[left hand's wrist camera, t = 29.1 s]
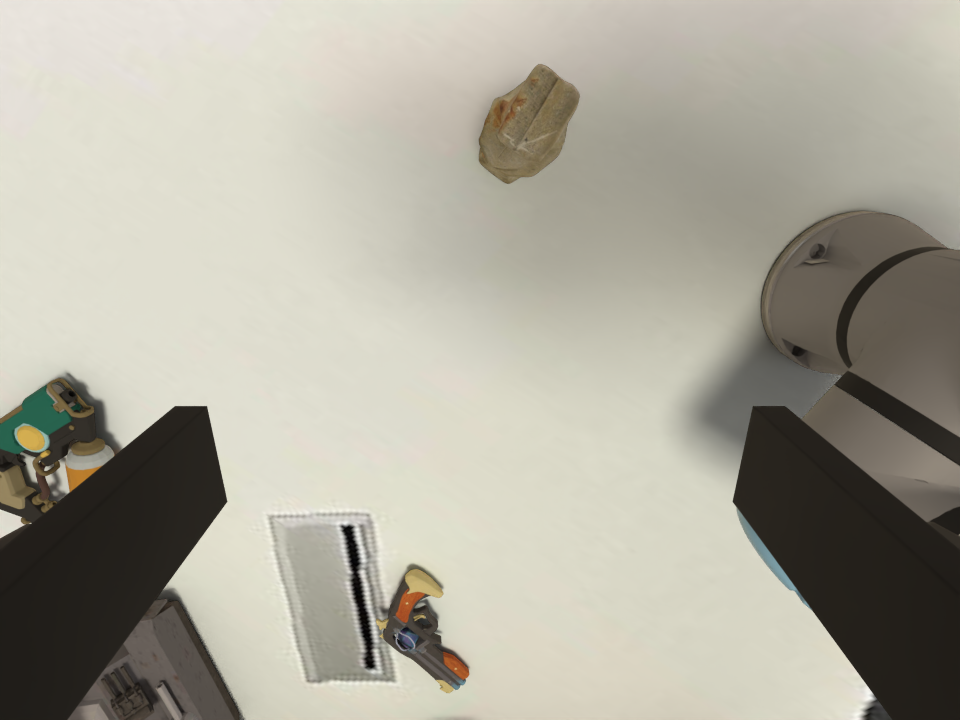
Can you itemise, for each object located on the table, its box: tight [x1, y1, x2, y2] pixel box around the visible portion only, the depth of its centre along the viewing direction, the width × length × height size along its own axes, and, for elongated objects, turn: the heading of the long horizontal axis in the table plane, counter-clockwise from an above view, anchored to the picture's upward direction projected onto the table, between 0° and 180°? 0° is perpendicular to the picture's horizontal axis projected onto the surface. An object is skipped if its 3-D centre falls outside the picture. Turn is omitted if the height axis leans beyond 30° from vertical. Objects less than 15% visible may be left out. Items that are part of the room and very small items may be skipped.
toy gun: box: [376, 569, 469, 693], centre depth 65 cm, size 3×19×10 cm
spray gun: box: [0, 378, 115, 524], centre depth 55 cm, size 4×17×15 cm
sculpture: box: [479, 64, 580, 184], centre depth 38 cm, size 6×7×15 cm
